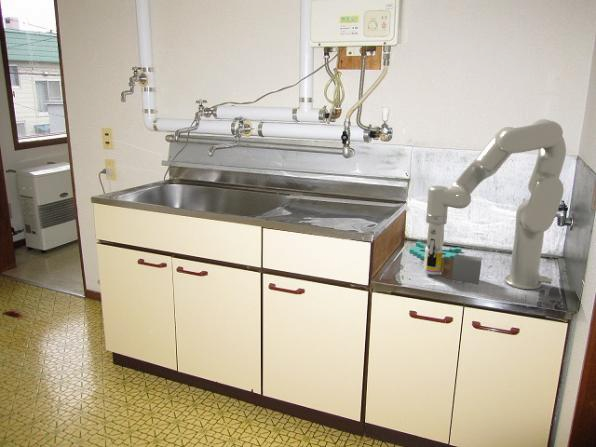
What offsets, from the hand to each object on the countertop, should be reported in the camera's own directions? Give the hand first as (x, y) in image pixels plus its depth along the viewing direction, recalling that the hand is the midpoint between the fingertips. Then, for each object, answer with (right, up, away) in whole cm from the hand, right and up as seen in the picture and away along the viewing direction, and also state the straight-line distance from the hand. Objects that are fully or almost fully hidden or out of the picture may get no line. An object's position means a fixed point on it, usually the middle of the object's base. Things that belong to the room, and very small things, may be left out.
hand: (433, 263), depth 189 cm
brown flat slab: (+9, -6, -3) cm, 11 cm away
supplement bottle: (0, -4, +1) cm, 4 cm away
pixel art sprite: (+7, +1, +26) cm, 27 cm away
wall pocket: (+11, -6, -4) cm, 13 cm away
